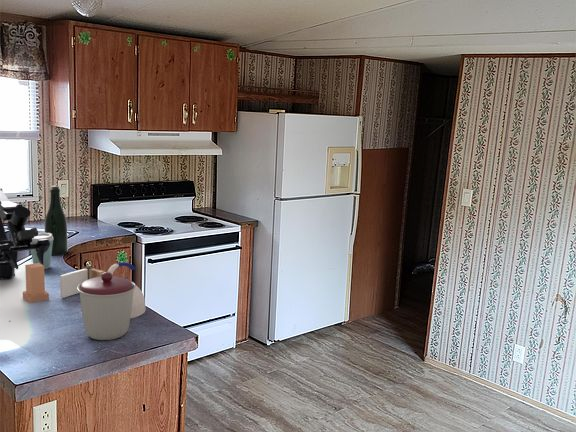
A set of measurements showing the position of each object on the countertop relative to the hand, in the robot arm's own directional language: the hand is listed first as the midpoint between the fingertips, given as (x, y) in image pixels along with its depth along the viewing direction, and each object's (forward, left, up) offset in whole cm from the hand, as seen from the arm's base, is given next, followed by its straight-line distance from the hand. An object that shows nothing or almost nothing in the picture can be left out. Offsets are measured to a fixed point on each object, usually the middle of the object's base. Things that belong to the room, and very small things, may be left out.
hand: (30, 266), depth 219 cm
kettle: (+35, -15, -12) cm, 40 cm away
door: (+15, +3, -11) cm, 19 cm away
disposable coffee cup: (-8, +37, -12) cm, 40 cm away
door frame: (+17, +10, -11) cm, 23 cm away
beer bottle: (-9, +63, -12) cm, 65 cm away
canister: (+36, -37, -12) cm, 53 cm away
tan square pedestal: (+3, -3, -11) cm, 12 cm away
